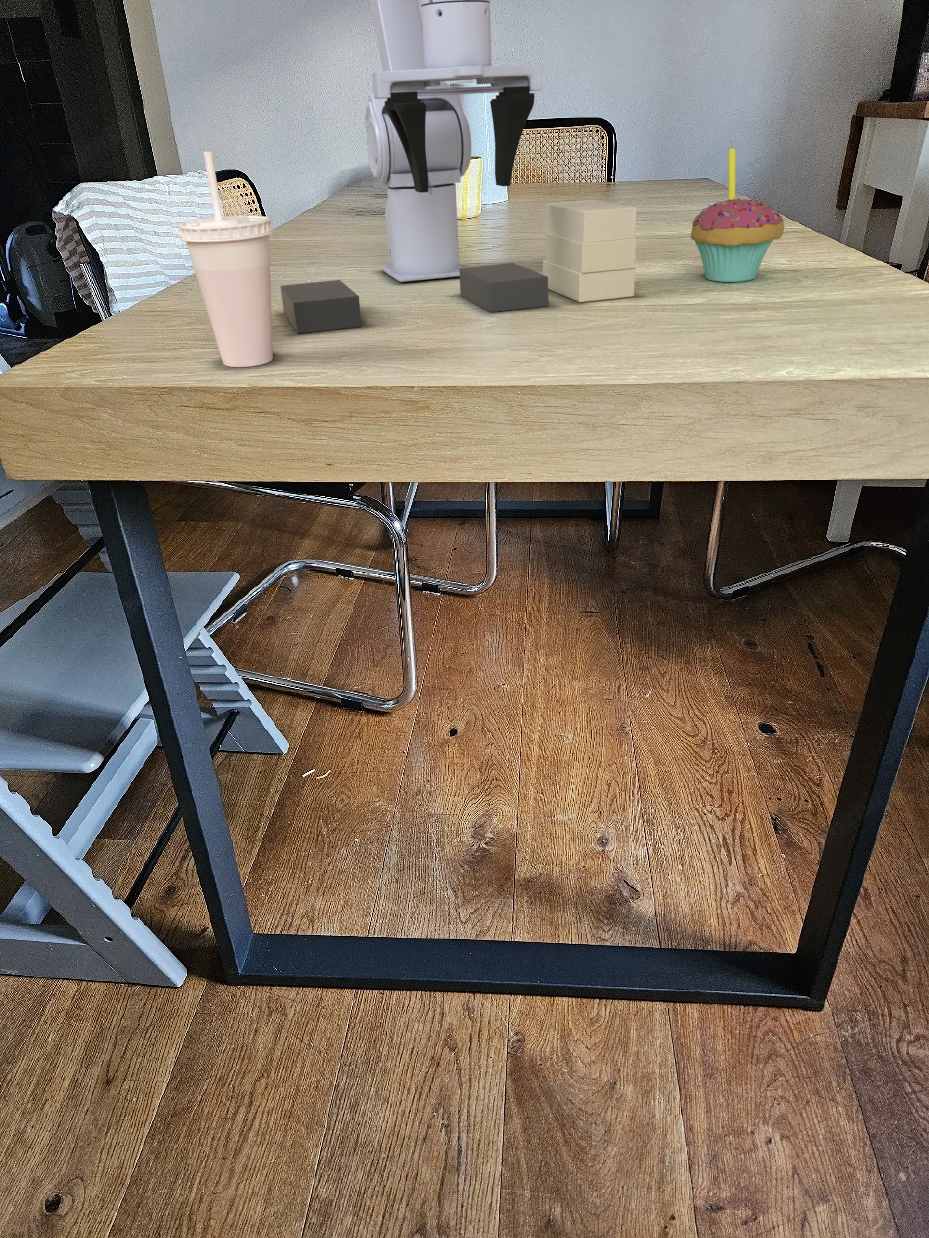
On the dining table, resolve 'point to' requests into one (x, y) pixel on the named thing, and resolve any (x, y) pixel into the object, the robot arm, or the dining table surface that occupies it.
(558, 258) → the cream stack
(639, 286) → the dining table surface
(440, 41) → the robot arm
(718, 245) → the cupcake
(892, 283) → the dining table surface
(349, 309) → the grey book
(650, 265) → the dining table surface
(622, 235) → the cream book
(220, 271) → the smoothie
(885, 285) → the dining table surface
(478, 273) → the grey book
